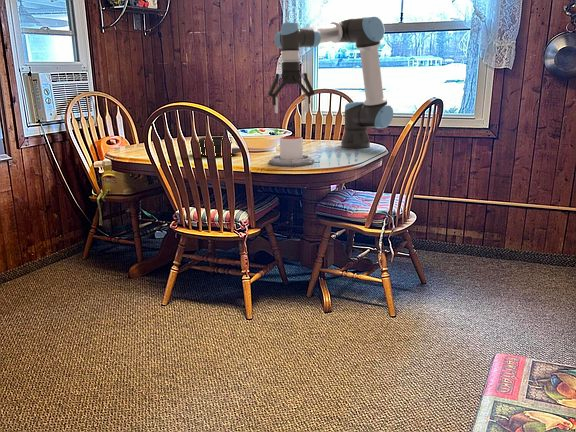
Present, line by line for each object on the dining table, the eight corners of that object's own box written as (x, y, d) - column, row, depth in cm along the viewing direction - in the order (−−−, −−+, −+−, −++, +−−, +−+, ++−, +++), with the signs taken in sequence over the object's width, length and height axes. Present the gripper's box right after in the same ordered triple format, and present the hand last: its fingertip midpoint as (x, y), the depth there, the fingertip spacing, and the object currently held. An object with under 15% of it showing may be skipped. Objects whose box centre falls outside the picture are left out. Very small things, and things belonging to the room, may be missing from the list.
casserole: (243, 152, 276) (242, 135, 274) (238, 158, 258) (237, 140, 256) (194, 152, 277) (193, 136, 275) (185, 158, 259) (184, 140, 257)
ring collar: (306, 158, 254) (306, 152, 253) (320, 165, 235) (320, 159, 235) (264, 160, 249) (264, 155, 248) (274, 167, 230) (274, 161, 230)
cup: (300, 162, 236) (300, 139, 234) (278, 162, 238) (277, 139, 236) (304, 158, 246) (304, 136, 243) (282, 158, 248) (282, 136, 245)
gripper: (315, 61, 239) (316, 110, 244) (259, 62, 233) (261, 112, 238) (321, 60, 232) (321, 111, 237) (263, 61, 226) (265, 114, 231)
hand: (291, 112), depth 238 cm, fingers open, 13 cm apart
